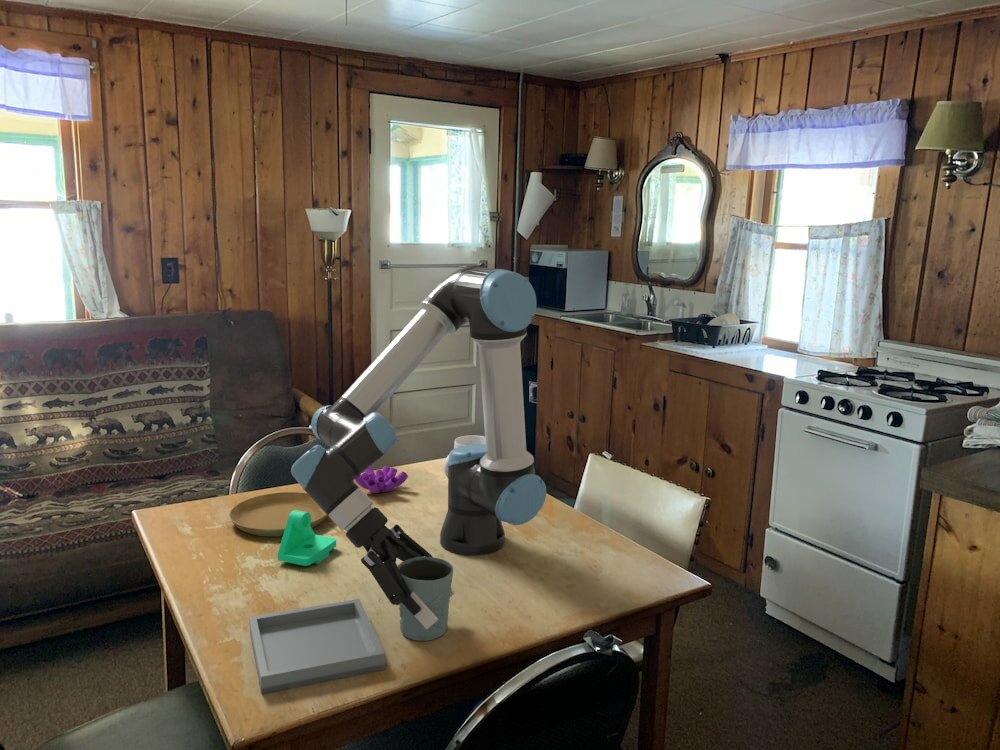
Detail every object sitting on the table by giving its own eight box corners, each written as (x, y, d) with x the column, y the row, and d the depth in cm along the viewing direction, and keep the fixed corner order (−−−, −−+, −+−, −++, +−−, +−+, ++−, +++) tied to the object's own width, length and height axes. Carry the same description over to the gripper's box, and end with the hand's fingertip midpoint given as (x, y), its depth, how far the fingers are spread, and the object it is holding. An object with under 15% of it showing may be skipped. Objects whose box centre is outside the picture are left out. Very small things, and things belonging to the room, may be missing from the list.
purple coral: (395, 494, 222) (414, 471, 219) (375, 513, 208) (395, 488, 205) (365, 468, 223) (384, 444, 220) (343, 485, 208) (363, 460, 206)
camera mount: (308, 571, 167) (307, 525, 165) (278, 565, 169) (276, 520, 167) (338, 549, 178) (337, 506, 176) (309, 544, 180) (308, 501, 178)
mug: (455, 496, 212) (455, 450, 210) (434, 485, 221) (434, 440, 218) (500, 486, 221) (501, 442, 218) (478, 476, 230) (479, 433, 227)
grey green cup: (391, 620, 147) (390, 560, 144) (442, 610, 151) (442, 552, 148) (406, 647, 137) (406, 584, 135) (460, 636, 141) (461, 575, 139)
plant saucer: (266, 550, 177) (266, 536, 176) (210, 522, 192) (209, 509, 191) (351, 521, 195) (350, 508, 194) (293, 497, 210) (293, 485, 209)
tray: (359, 613, 149) (359, 598, 149) (385, 669, 131) (385, 653, 131) (249, 632, 142) (249, 616, 141) (261, 694, 124) (260, 677, 123)
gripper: (369, 509, 155) (445, 593, 154) (318, 555, 133) (406, 653, 133) (394, 486, 152) (472, 572, 152) (346, 530, 131) (436, 629, 131)
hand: (441, 610), depth 142 cm, fingers closed on grey green cup, 10 cm apart
